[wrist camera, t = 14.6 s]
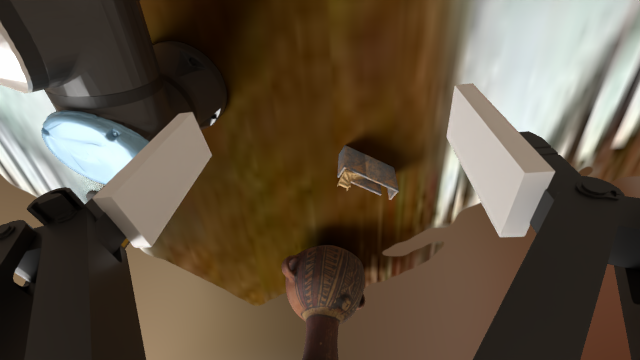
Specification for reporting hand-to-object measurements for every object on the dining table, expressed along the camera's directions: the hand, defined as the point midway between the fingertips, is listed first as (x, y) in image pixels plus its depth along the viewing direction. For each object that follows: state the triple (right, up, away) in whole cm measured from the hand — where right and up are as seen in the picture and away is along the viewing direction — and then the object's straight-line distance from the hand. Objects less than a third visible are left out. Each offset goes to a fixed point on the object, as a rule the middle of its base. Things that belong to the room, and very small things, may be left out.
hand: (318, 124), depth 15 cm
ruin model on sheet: (+10, +1, +43) cm, 44 cm away
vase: (+2, -23, +63) cm, 67 cm away
